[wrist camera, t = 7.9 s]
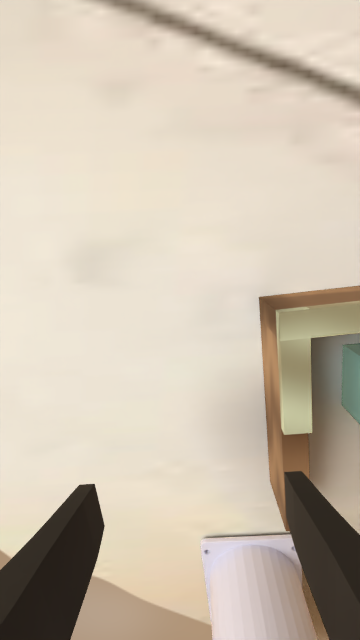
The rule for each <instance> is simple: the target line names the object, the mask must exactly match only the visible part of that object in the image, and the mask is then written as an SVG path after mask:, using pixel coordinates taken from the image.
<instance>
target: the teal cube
mask: <svg viewBox="0 0 360 640" xmlns="http://www.w3.org/2000/svg"><path fill="white" fill-rule="evenodd" d="M342 406H343V407H344V408H345V409H346V410H347V411H348V412H349V413H350V414H351V415H352V416H353V417H354V419H355V420H356V421H357V422H358V423H359V424H360V343H358V344H347V345H343V362H342Z"/></svg>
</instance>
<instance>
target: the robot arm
mask: <svg viewBox="0 0 360 640" xmlns="http://www.w3.org/2000/svg"><path fill="white" fill-rule="evenodd" d="M284 481H285V502H286V518H287V522H288V525H289V529H290V533H291V534H287V535H265V536H243V537H221V538H204V539H203V540H201V553H202V560H203V567H204V575H205V582H206V589H207V596H208V603H209V610H210V618H211V622H212V640H318V639H317V635H316V632H315V629H314V626H313V623H312V619H311V616H310V613H309V610H308V607H307V603H306V600H305V597H304V594H303V590H302V569H303V571H304V574H305V577H306V579H307V582H308V584H309V587H310V590H311V592H312V595H313V597H314V600H315V603H316V605H317V608H318V610H319V613H320V616H321V618H322V621H323V624H324V626H325V629H326V631H327V634H328V637H329V640H360V535H359V534H358V533H357V532H356V531H355V530H354V529H353V528H352V527H351V526H350V525H349V523H348V522H347V521H346V520H345V519H344V518H343V517H342V516H341V515H340V514H339V513H338V512H337V511H336V510H335V509H334V508H333V506H332V505H331V504H330V503H329V502H328V501H327V500H326V499H325V497H324V496H323V495H322V494H321V493H320V492H319V491H318V489H317V488H316V487H315V486H314V485H313V483H312V482H311V481H310V480H309V479H308V477H307V476H306V475H305V474H304V473H303V472H302V471H292V472H284ZM103 531H104V522H103V517H102V513H101V509H100V505H99V501H98V496H97V492H96V488H95V484H86V485H79V486H78V487H77V488H76V489H75V490H74V492H73V493H72V494H71V495H70V496H69V497H68V498H67V499H66V501H65V502H64V503H63V504H62V505H61V506H60V507H59V508H58V510H57V511H56V512H55V513H54V514H53V515H52V516H51V518H50V519H49V520H48V521H47V522H46V523H45V524H44V525H43V526H42V527H41V529H40V530H39V531H38V532H37V533H36V534H35V535H34V536H33V537H32V538H31V539H30V540H29V541H28V542H27V543H26V545H25V546H24V547H23V548H22V549H21V550H20V551H19V552H18V553H17V554H16V555H15V556H14V557H13V558H12V559H11V560H10V561H9V562H8V563H7V564H6V565H5V566H4V567H3V568H2V569H1V570H0V640H70V639H71V636H72V633H73V630H74V627H75V624H76V621H77V618H78V615H79V612H80V609H81V606H82V603H83V600H84V597H85V594H86V591H87V588H88V585H89V582H90V579H91V576H92V573H93V570H94V567H95V564H96V561H97V557H98V553H99V549H100V545H101V540H102V535H103Z"/></svg>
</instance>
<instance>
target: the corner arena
mask: <svg viewBox="0 0 360 640" xmlns="http://www.w3.org/2000/svg"><path fill="white" fill-rule="evenodd" d="M259 304H260V321H261V338H262V354H263V371H264V387H265V404H266V420H267V437H268V453H269V470H270V482H271V485H272V489H273V492H274V495H275V498H276V501H277V504H278V507H279V510H280V514H281V517H282V520H283V523H284V526H285V529H286V531H290V529H289V525H288V522H287V518H286V502H285V481H284V472H292V471H302V472H303V473H304V474H305V475H306V476H307V477H308V479H309V444H308V433H312V387H311V338H316V337H326V336H336V335H346V334H356V333H360V286H352V287H344V288H335V289H326V290H317V291H308V292H300V293H291V294H282V295H273V296H264V297H259Z"/></svg>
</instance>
